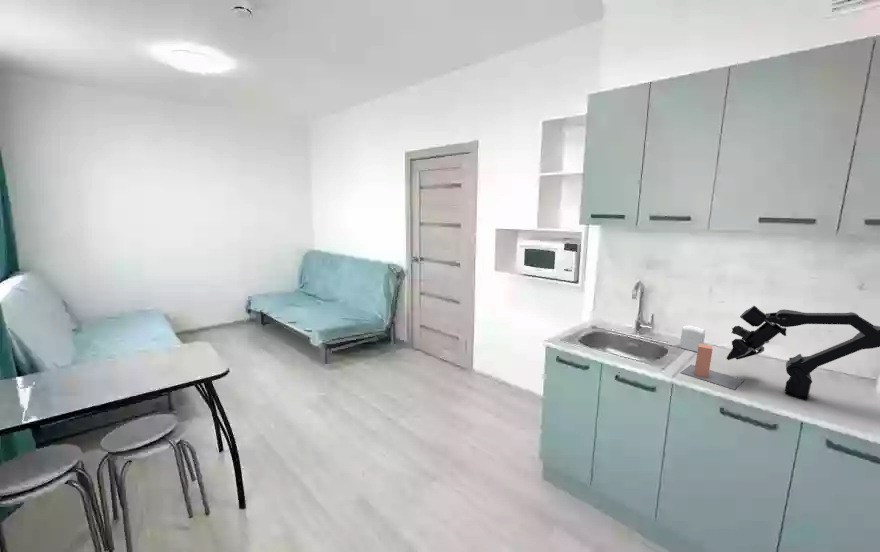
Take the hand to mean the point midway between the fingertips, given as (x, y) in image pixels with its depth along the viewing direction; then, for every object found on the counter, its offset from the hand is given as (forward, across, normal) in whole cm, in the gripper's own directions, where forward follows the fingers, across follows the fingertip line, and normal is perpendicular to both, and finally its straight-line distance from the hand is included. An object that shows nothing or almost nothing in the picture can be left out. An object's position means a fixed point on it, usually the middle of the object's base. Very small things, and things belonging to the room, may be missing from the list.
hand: (731, 358), depth 168 cm
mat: (+11, +2, +1) cm, 11 cm away
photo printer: (+17, -23, -19) cm, 34 cm away
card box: (+12, +5, -2) cm, 13 cm away
